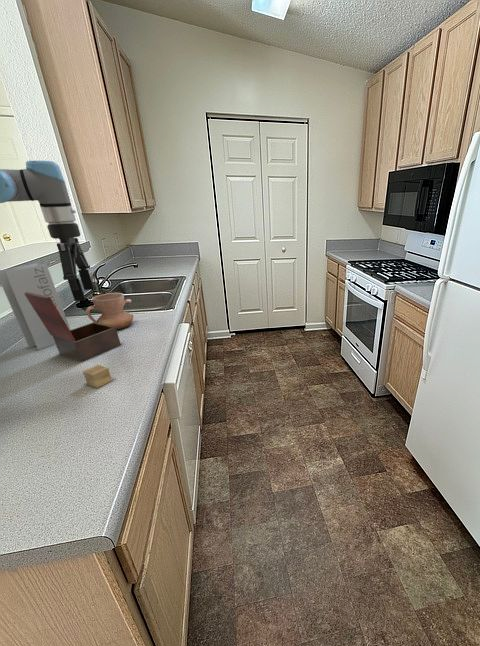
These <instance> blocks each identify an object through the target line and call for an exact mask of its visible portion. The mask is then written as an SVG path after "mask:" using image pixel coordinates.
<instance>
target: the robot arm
mask: <svg viewBox="0 0 480 646" xmlns="http://www.w3.org/2000/svg"><path fill="white" fill-rule="evenodd" d="M30 201H31V202H35V201H37V202H38V203H39V207H40V210H41V213H42V216H43V219H44V222H45V223H48V224H47V225H46V228H47V230H48V234H49V236H50V238H52V239H53V240H55V239H58V240H59V242H56V247H57V250H58V254H59V259H60V265H61V270H62V274H63V277H62V279H63V280H64V281H67V282H68V285H69V288H70V290H71V294H72V297H73V300H74V302H80V301H81V302H83V301H86V299H87V298H86V296H85V293H84V291H90V290H94V289H95V287H94V285H93V281H92V278H91V275H90V272H89V271H90V270H89V269H91V265H89V262H88V260H87V259H86V256H85V254H84V251H83V249H82V247H81V245H80V241H79V239H78V238H79V237H81V232H80V231H81V230H80V227H79V224H78V223H76V222H75V221H76V220H77V218H76V215H75V214H76V213H77V212H76V209H73V206H72V202H71V198H70V196H69V192H68V189H67V185H66V181H65V179H64V176H63V173H62V170H61V167H60V165H59V164H58V163H57V162H55V161H52V160H27V161H26V162H25V168H23V169H11V168H10V169H9V168H7V169H6V168H2V169H1V168H0V204H4V203H7V202H8V203H9V202H30ZM77 269H78V270H77ZM77 271H78V273H77ZM78 274H79V277H78ZM80 280H81V281H80ZM82 287H83V288H82Z"/></svg>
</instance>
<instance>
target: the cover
mask: <svg viewBox="0 0 480 646" xmlns="http://www.w3.org/2000/svg"><path fill="white" fill-rule="evenodd" d="M24 294H25V296H26V297H27V299H28V301H29V302H30V304H31V305H32V307H33V308H34V310H35V311H36V313H37V315H38V316H39V318H40V319H41V321H42V322H43V324H44V326H45V327H46V329H47V330H48V332H49V333H50V335H52V336H55V337H58V338H62V339H65V340H69V341H72V342H74V341H75V338H74V337H73V335H72V333H71V332H70V330H71V329H70V330H69V328H68V327H67V325H66V323H65V322H64V320H63V318H62V317H61V315H60V313H59V312H58V310H57V308H56V307H55V305H54V303H53V302H52V300H51V298H50V297H48V296H43V295H38V294H33V293H28V292H26V293H24Z"/></svg>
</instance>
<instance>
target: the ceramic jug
mask: <svg viewBox="0 0 480 646" xmlns="http://www.w3.org/2000/svg"><path fill="white" fill-rule="evenodd" d="M91 300H92V303H93V305H90V306H88V307H86V309H85V310H86V311H85V312H86V315H87V317H88V318H89V320H91V321H92V323H93V322H95V323H99V324H103V325H107V326H112V327H116V330H117V331H118V330H122V329H125V328H127V327H128V326H130V325H131V324H132V323H133V321H134V315H133V314H131V313H130V312H127V311H125V310H124V306H125V305H126V304H128V303H130V304H131V303H132V299H130V298H127V299H125V294H124V293H122V292H108V293H104V294H99V295H94V296H93V297H92V298H91ZM92 310H93V311H94V310H95V311H96V312H97V311H98V312H100V313H101V315H100V316H99V317H98V318H97V319H95V318H94V317H93V316H92V314H91V311H92Z"/></svg>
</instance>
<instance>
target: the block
mask: <svg viewBox="0 0 480 646" xmlns="http://www.w3.org/2000/svg"><path fill="white" fill-rule="evenodd" d="M82 374H83V377H84V380H85V382H86V384H87V385H88V386H91V387H94V388H96V389H99V388H100V387H102V386H104V385H106V384H108V383H110V382H112V381H113V380H112V379H113V378H112V376H111V373H110V370H109V367H106V366H103V365H101V364H97V365H94V366H92V367H90V368H87V369H86V370H83V371H82Z"/></svg>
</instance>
